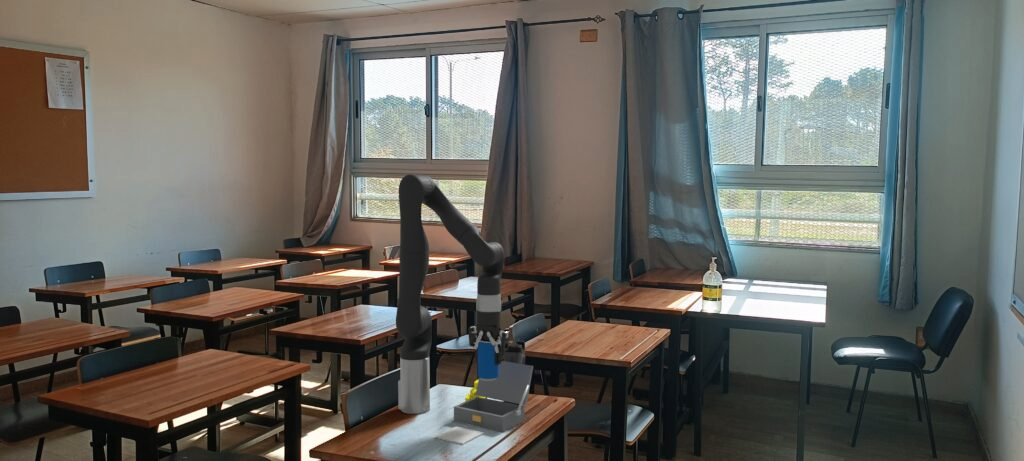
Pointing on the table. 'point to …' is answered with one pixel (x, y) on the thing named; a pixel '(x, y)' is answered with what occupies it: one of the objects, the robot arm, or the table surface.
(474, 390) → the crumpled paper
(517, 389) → the case
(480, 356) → the beverage can
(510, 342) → the electronic device
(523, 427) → the table surface
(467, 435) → the pad
